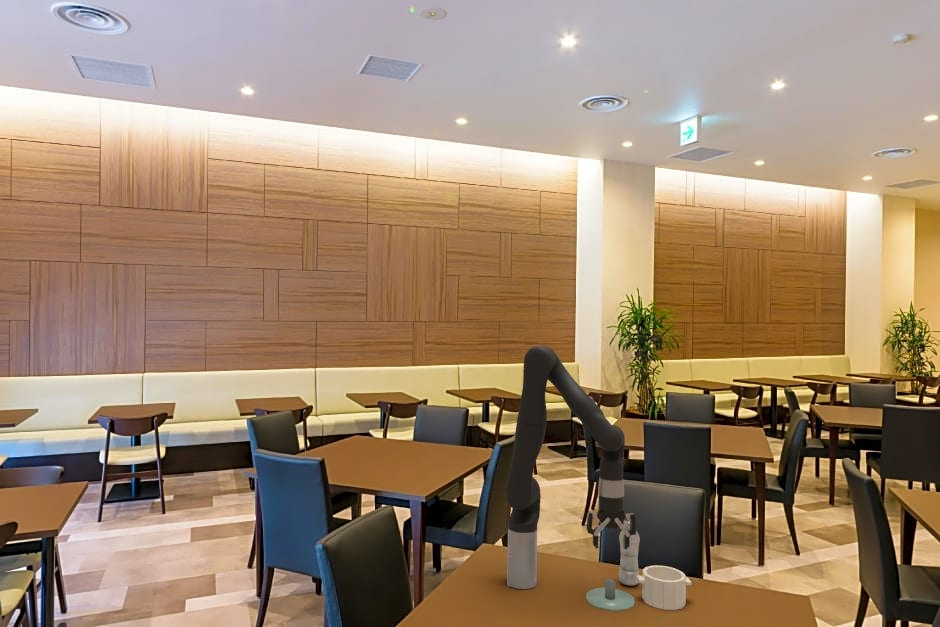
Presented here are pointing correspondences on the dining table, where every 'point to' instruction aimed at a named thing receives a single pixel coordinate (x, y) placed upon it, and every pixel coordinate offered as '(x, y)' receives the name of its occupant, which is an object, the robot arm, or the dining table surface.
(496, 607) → the dining table surface
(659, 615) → the dining table surface
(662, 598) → the pot
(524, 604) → the dining table surface
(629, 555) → the plastic bottle
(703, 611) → the dining table surface
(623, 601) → the lid
